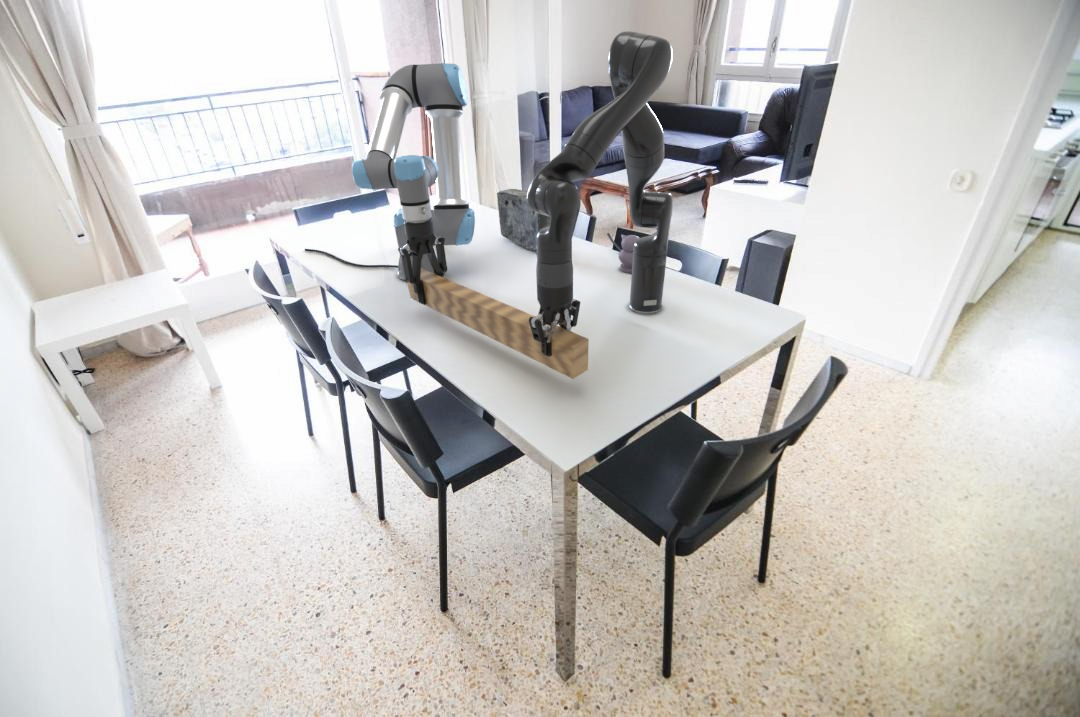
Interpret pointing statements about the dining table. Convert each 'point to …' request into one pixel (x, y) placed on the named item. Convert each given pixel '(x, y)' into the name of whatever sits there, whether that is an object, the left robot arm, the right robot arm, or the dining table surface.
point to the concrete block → (519, 218)
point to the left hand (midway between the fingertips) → (431, 299)
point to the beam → (503, 324)
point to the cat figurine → (627, 252)
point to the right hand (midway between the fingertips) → (555, 349)
